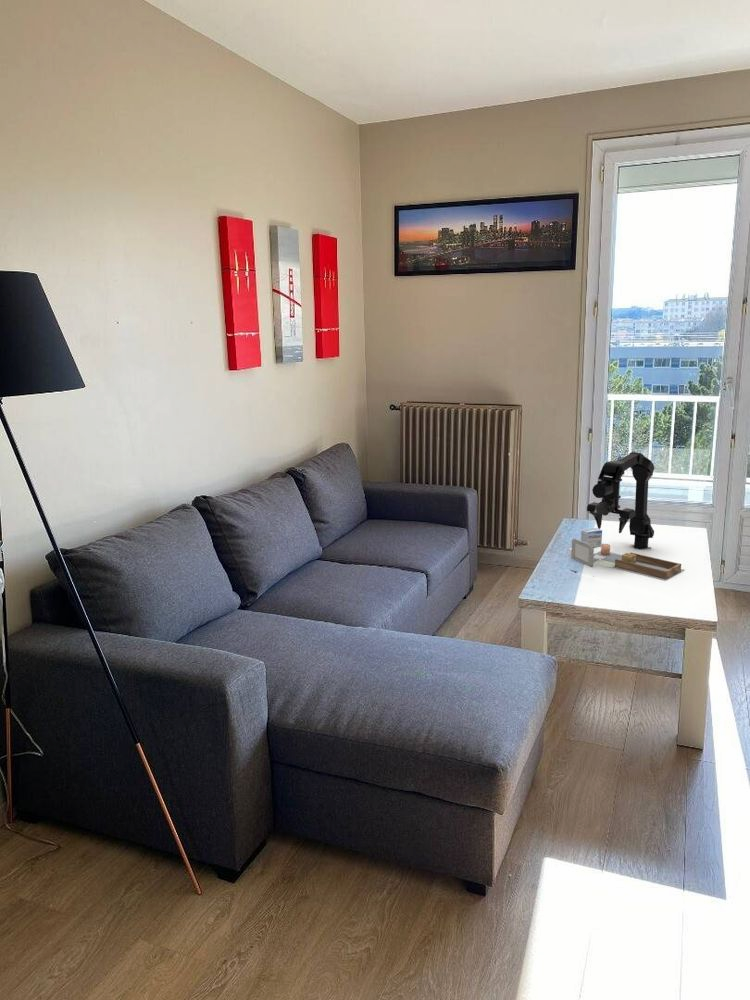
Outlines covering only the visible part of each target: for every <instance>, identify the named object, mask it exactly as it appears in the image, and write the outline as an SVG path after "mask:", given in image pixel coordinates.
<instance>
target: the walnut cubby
mask: <svg viewBox="0 0 750 1000" xmlns="http://www.w3.org/2000/svg"><path fill="white" fill-rule="evenodd" d="M629 553H630V554H634V555H636V562H641V563H645V564H649V565H653V566H658V567H662V568H666V569H668V570H666V571H663V570H659V569H655V568H651V567H646V566H642V565H638V564H634V563H630V562H626V561H621V560H617V559H616V560H615V567H618V568H622V569H626V570H630V571H634V572H638V573H642V574H646V575H650V576H654V577H658V578H662V579H668V578H669V577H671V576H673V575H675V574H677V573H678V572H680V571H681V569H682V564H681V563H678V562H673V561H668V560H665V559H660V558H656V557H652V556H648V555H644V554H639V553H634V552H629ZM668 580H669V579H668Z"/></svg>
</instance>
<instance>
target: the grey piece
mask: <svg viewBox="0 0 750 1000" xmlns="http://www.w3.org/2000/svg"><path fill="white" fill-rule="evenodd" d="M571 547H572V550H571V551H572V552H571V556H570V557H571V558H573V560H575V561H578V562H579V563H582V564H584V565H586V566H589V567H593V566H594V563H593V558H594V556H593V554H595V553H594V552H595V548H593V546H592V545H590V544H587V543H585V542H583V541H581V539H577V538H572V540H571ZM570 571H571V572H573V573H578V571H577V570H572V569H570Z"/></svg>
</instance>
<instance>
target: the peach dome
mask: <svg viewBox="0 0 750 1000" xmlns="http://www.w3.org/2000/svg"><path fill="white" fill-rule="evenodd" d="M600 551H601V555H610V552H611V544H609V543H602V544H601V547H600Z"/></svg>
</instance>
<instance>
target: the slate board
mask: <svg viewBox="0 0 750 1000" xmlns="http://www.w3.org/2000/svg"><path fill="white" fill-rule="evenodd" d="M622 555H623V554H619V553H615V552H611V551H610V555H601V550H600V551H598V552H595V553H594V554H593V564H595V565H599V566H604V567H607V568H611V569H616V570H620V571H623V572H626V573H627V572H628V573H631V574H636V575H638V576H643V577H648V578H651V579H654V580H655V579H656V580H659V581H664V582H667V581H669V580H670V579H672V578H674V577H676V576H677V575H680V574H681V573H682V572H685V571H686V569H684V568H683V569H682V568H681V571H680V572H678V573H677V574H675V575H673V576H671V577H669V578H668V579H662V578H658V577H654V576H650V575H646V574H642V573H638V572H634V571H630V570H626V569H622V568H618V567H615V560H616V559H617V560H621V561H622ZM595 556H599V557H603V558H595ZM635 564H638V565H642V566H646V567H651V568H655V569H659V570H663V571H666V570H668V569H666V568H662V567H658V566H653V565H649V564H645V563H641V562H636V563H635Z"/></svg>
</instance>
